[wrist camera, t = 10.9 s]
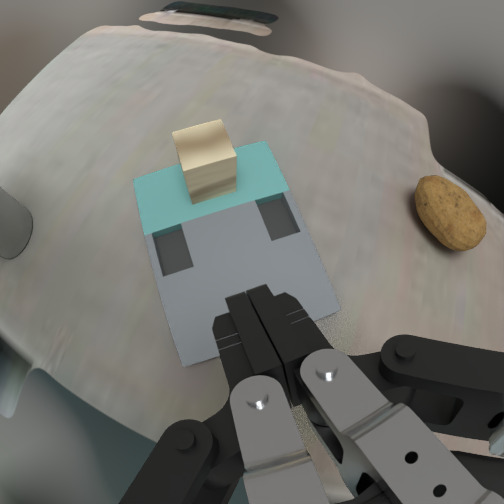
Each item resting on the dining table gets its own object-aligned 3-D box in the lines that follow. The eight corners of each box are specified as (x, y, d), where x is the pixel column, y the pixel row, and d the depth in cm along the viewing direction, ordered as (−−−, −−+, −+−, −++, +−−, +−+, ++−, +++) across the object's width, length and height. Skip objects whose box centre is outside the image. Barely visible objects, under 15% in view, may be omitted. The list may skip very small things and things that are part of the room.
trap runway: (336, 311, 37) (341, 309, 35) (185, 366, 34) (182, 367, 32) (264, 148, 44) (265, 140, 42) (136, 186, 41) (132, 179, 39)
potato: (413, 178, 44) (437, 152, 37) (469, 230, 42) (497, 212, 34) (392, 215, 41) (418, 191, 34) (453, 272, 39) (485, 257, 32)
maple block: (236, 191, 39) (236, 155, 31) (192, 204, 38) (183, 171, 30) (222, 156, 40) (220, 119, 33) (181, 169, 40) (172, 132, 32)
